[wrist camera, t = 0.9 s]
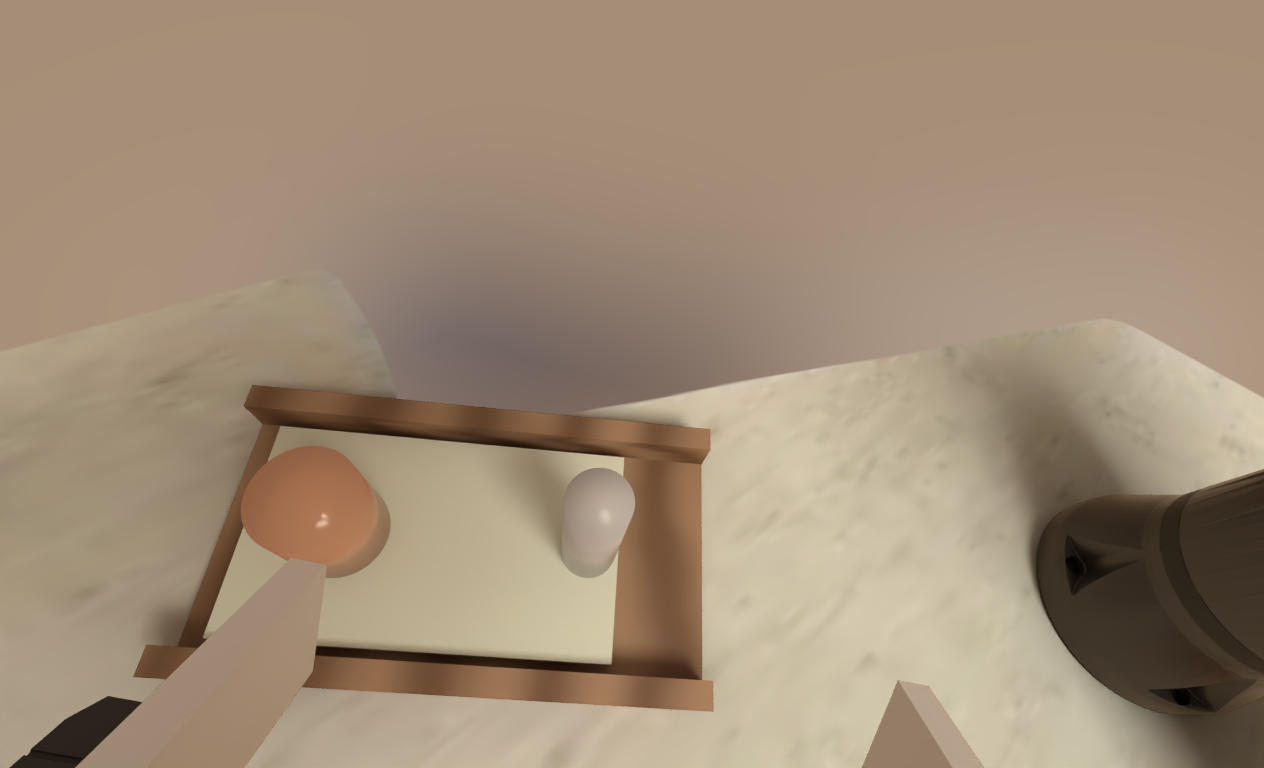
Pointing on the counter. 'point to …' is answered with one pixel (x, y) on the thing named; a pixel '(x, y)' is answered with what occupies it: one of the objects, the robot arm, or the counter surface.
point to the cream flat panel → (468, 552)
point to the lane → (646, 574)
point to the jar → (316, 510)
